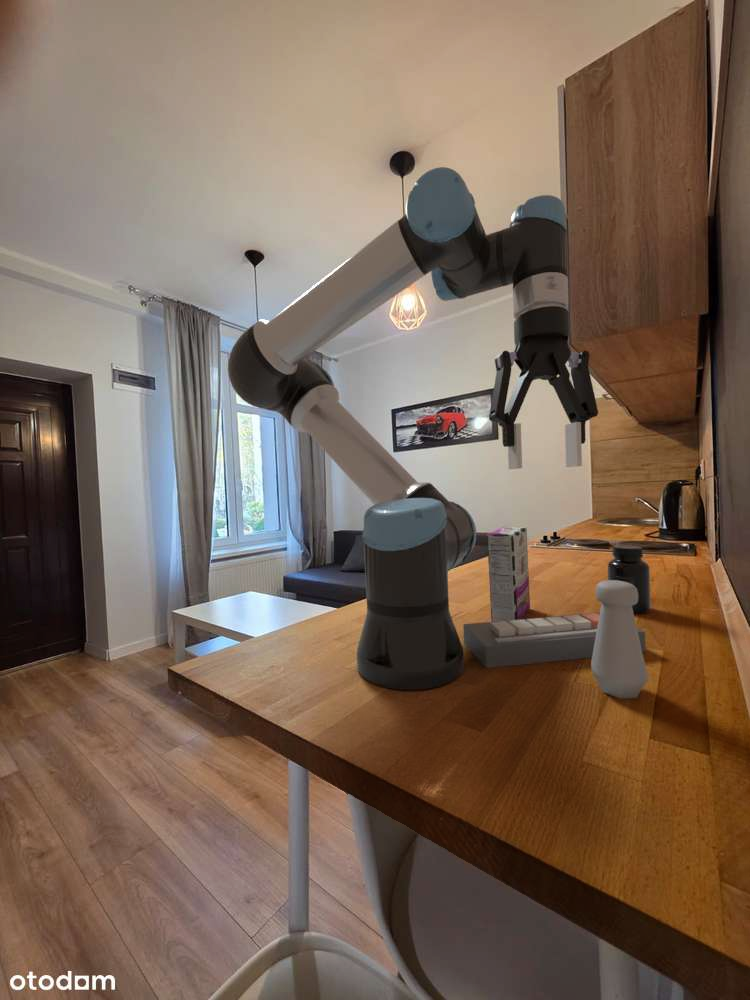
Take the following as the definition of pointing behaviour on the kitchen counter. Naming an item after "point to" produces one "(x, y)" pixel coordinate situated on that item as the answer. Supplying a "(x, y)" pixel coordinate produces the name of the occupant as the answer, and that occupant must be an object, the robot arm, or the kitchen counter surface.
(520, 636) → the gray button panel
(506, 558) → the candy bar box
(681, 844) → the kitchen counter surface
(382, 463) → the robot arm
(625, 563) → the supplement bottle
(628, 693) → the salt shaker
